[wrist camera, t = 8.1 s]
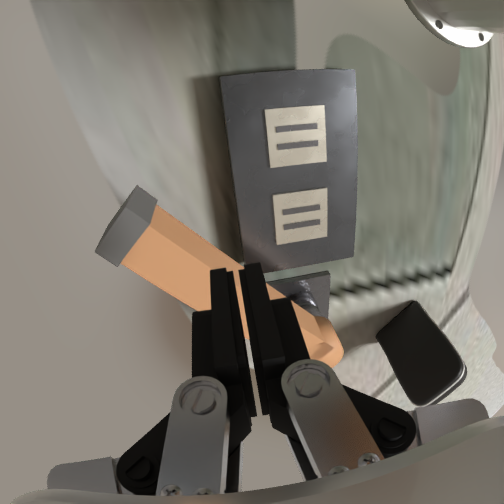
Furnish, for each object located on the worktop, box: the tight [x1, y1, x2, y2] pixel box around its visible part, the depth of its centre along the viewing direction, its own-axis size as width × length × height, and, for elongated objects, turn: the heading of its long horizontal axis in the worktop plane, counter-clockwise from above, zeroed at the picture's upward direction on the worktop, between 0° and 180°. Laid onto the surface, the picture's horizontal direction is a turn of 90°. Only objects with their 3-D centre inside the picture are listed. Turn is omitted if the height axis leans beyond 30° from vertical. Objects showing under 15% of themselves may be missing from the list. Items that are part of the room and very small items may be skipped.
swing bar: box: [95, 185, 344, 368], centre depth 22 cm, size 4×20×3 cm, turn 46°
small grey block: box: [266, 271, 330, 319], centre depth 29 cm, size 6×6×4 cm
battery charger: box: [376, 301, 467, 407], centre depth 30 cm, size 7×4×11 cm, turn 138°
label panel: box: [219, 69, 358, 273], centre depth 23 cm, size 9×15×2 cm, turn 6°
